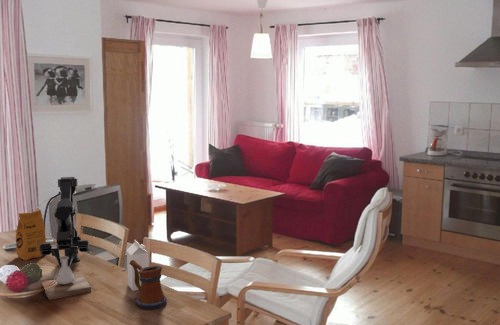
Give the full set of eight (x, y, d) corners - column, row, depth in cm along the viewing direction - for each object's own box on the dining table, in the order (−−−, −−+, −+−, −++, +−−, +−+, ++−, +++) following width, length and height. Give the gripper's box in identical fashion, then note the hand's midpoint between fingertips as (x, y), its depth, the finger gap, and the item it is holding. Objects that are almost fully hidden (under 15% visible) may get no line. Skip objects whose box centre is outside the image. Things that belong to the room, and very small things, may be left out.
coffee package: (14, 256, 251) (11, 212, 247) (40, 250, 259) (37, 207, 256) (23, 261, 244) (19, 215, 240) (49, 255, 252) (46, 210, 249)
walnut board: (42, 285, 216) (41, 281, 215) (81, 278, 224) (81, 273, 223) (49, 300, 202) (48, 295, 202) (91, 291, 210) (90, 286, 210)
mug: (120, 299, 203) (118, 262, 201) (144, 290, 211) (143, 254, 209) (148, 313, 191) (146, 274, 188) (173, 303, 199) (172, 265, 197)
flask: (79, 279, 214) (77, 256, 212) (64, 286, 208) (63, 262, 206) (66, 276, 217) (65, 253, 216) (52, 282, 211) (50, 258, 210)
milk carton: (132, 291, 210) (130, 245, 207) (127, 285, 216) (126, 240, 213) (149, 288, 213) (148, 243, 210) (144, 282, 220) (143, 238, 216)
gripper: (38, 224, 210) (36, 260, 201) (87, 221, 215) (87, 255, 206) (41, 237, 219) (40, 272, 210) (88, 233, 224) (89, 267, 215)
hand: (64, 266), depth 210 cm, fingers closed on flask, 3 cm apart
